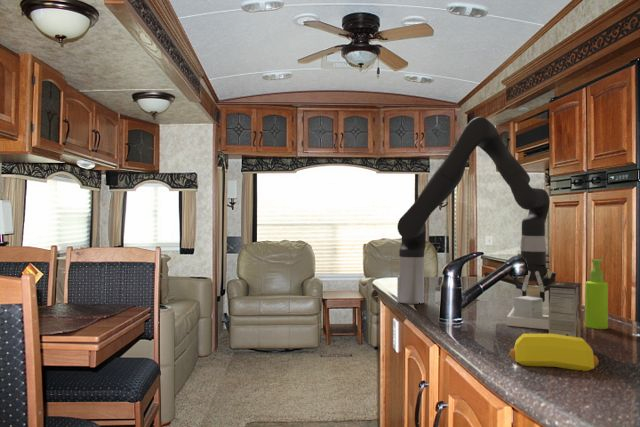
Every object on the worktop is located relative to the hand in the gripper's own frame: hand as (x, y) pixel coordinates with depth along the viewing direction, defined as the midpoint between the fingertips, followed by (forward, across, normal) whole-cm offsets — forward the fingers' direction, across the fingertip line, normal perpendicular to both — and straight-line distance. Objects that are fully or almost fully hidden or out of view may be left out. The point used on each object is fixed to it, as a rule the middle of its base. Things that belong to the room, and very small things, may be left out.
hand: (533, 302), depth 164 cm
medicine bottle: (+5, -3, -14) cm, 15 cm away
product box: (+4, +1, +12) cm, 13 cm away
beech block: (+1, 0, 0) cm, 1 cm away
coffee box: (+5, -10, +39) cm, 41 cm away
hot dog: (+5, -8, +55) cm, 56 cm away
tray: (+5, 0, +6) cm, 8 cm away
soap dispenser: (+5, -18, +6) cm, 20 cm away
